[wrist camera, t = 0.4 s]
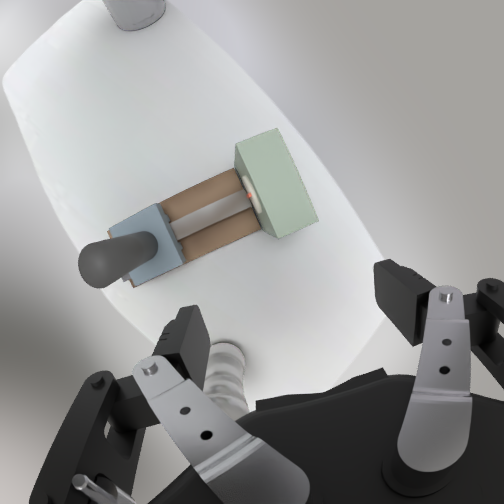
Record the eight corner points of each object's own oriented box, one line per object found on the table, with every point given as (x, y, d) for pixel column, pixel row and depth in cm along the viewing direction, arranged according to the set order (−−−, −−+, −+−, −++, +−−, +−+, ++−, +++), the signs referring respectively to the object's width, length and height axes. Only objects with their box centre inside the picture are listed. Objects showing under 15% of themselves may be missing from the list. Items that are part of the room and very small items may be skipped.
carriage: (120, 227, 35) (49, 239, 18) (162, 204, 35) (111, 198, 18) (144, 279, 36) (89, 325, 20) (187, 258, 36) (154, 295, 20)
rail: (109, 230, 37) (101, 232, 34) (233, 169, 37) (233, 165, 34) (135, 286, 38) (128, 291, 35) (260, 228, 38) (262, 229, 35)
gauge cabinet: (229, 166, 37) (229, 146, 25) (263, 152, 37) (277, 127, 25) (259, 232, 38) (271, 242, 27) (292, 218, 38) (319, 220, 27)
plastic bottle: (253, 355, 41) (270, 450, 21) (223, 380, 41) (222, 476, 22) (223, 329, 40) (219, 420, 20) (193, 356, 40) (172, 450, 21)
